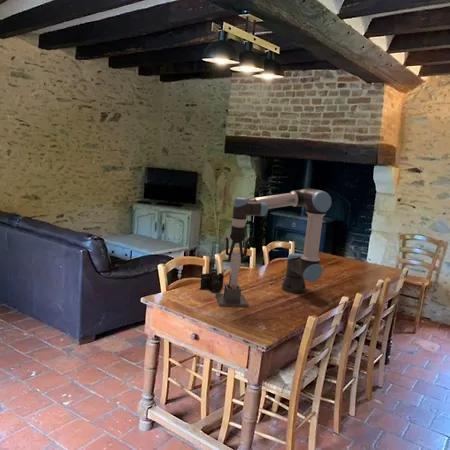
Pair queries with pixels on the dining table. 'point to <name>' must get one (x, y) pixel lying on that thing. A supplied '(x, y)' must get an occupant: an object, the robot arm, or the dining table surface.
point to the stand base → (232, 297)
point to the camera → (212, 281)
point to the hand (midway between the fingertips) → (234, 267)
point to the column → (234, 269)
